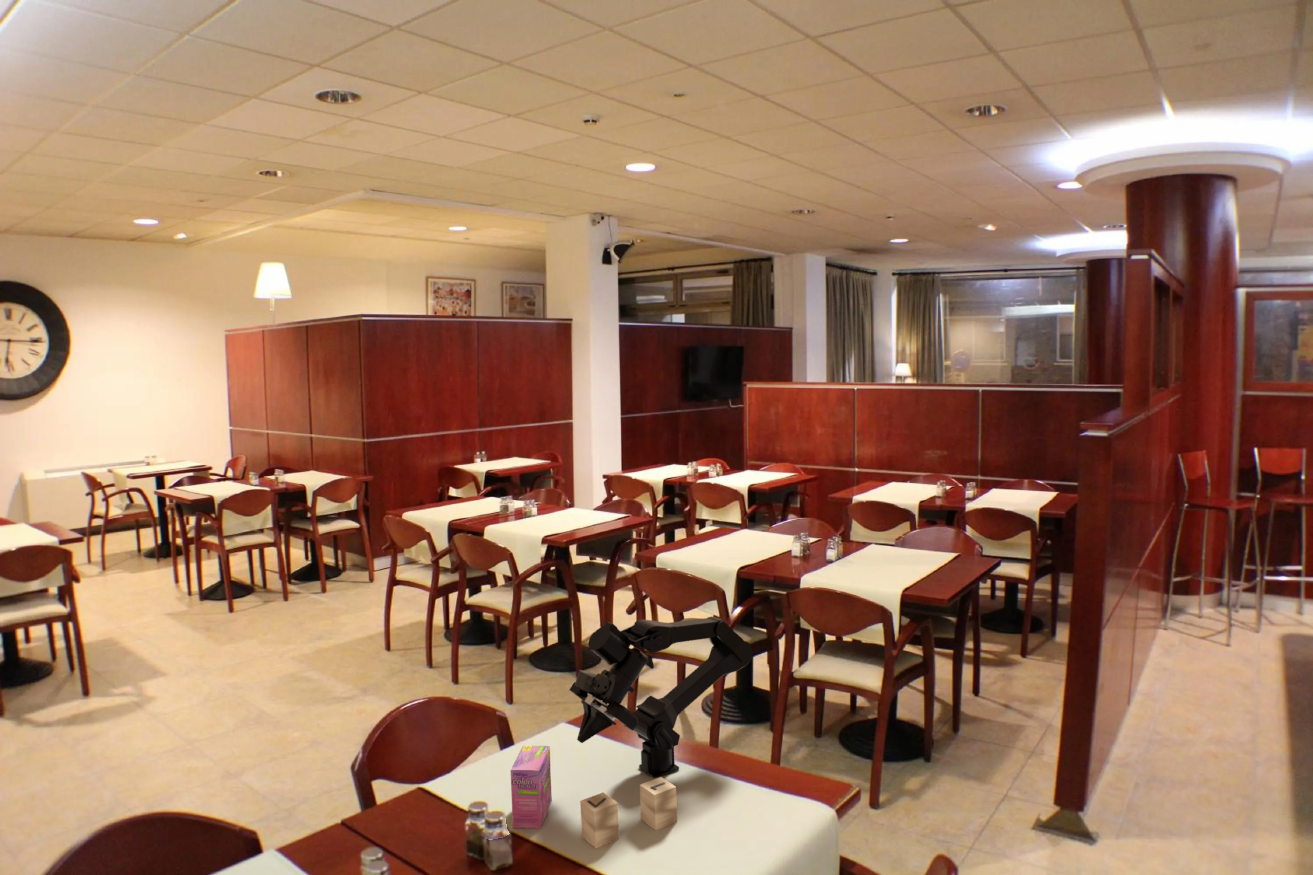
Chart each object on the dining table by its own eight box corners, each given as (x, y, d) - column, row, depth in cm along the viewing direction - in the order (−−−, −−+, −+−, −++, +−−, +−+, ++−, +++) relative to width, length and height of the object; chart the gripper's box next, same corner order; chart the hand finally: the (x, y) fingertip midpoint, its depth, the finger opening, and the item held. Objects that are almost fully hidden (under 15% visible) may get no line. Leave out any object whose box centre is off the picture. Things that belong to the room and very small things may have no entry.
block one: (662, 810, 169) (660, 776, 168) (677, 821, 165) (675, 785, 164) (641, 819, 166) (639, 783, 165) (655, 830, 162) (654, 794, 161)
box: (541, 829, 164) (538, 769, 163) (512, 828, 164) (509, 769, 163) (552, 801, 174) (550, 745, 173) (525, 800, 175) (522, 744, 174)
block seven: (604, 827, 164) (603, 791, 163) (618, 838, 160) (617, 801, 159) (582, 836, 161) (580, 800, 160) (595, 848, 157) (594, 810, 156)
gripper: (574, 643, 183) (531, 707, 178) (622, 667, 168) (576, 738, 163) (608, 670, 188) (567, 733, 183) (657, 695, 173) (613, 765, 168)
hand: (579, 741), depth 174 cm, fingers closed
